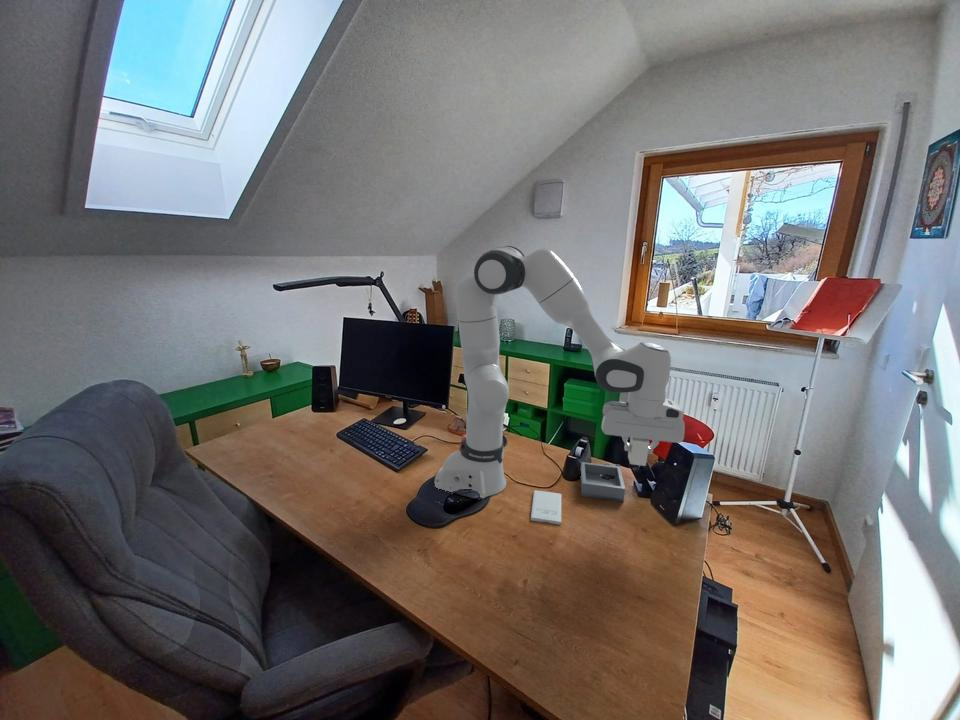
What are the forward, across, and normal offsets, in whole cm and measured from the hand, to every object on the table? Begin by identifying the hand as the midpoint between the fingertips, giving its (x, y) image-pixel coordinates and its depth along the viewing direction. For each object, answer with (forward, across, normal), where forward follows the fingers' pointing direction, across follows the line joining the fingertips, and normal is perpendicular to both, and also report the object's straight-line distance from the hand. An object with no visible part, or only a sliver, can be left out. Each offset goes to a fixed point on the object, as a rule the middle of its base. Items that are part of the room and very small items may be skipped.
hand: (638, 451), depth 104 cm
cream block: (+3, 0, 0) cm, 3 cm away
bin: (+19, -7, +9) cm, 22 cm away
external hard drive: (+20, -23, -5) cm, 31 cm away
